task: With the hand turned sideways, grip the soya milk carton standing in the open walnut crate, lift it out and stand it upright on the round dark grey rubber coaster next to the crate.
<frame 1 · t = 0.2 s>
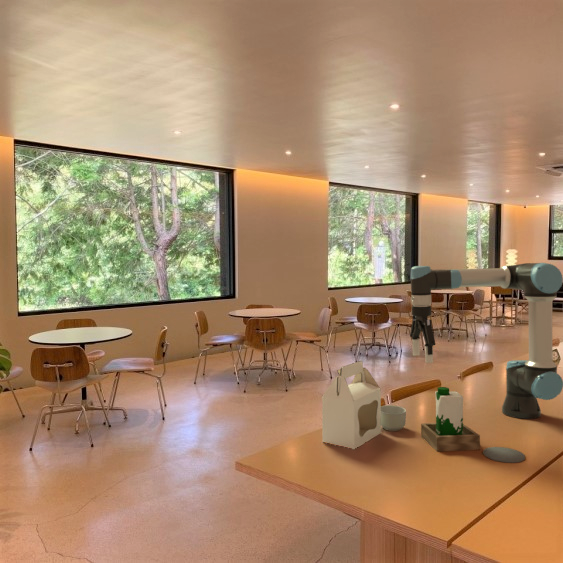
hand: (422, 358, 204), 27 cm above the table, tool pointing down, fingers open, 13 cm apart
teacup: (388, 428, 205), on the table
grey coaster: (503, 455, 175), on the table
walnut crate: (449, 442, 188), on the table
gable box: (352, 438, 195), on the table
soya milk: (449, 443, 188), resting in walnut crate
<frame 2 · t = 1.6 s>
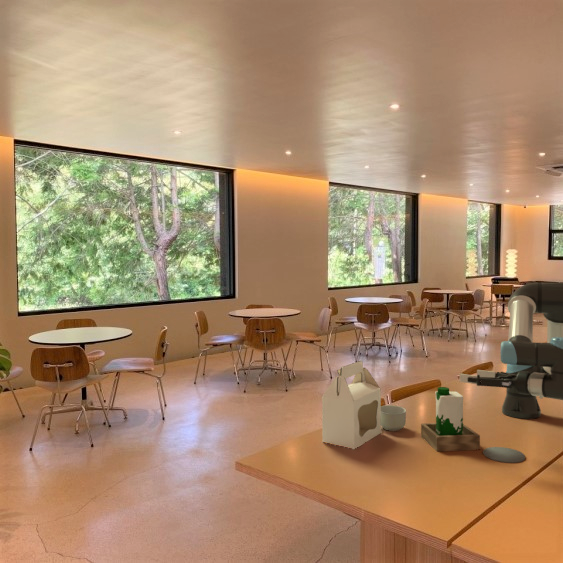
hand: (468, 375, 184), 25 cm above the table, tool horizontal, fingers open, 13 cm apart
nothing on the table moved.
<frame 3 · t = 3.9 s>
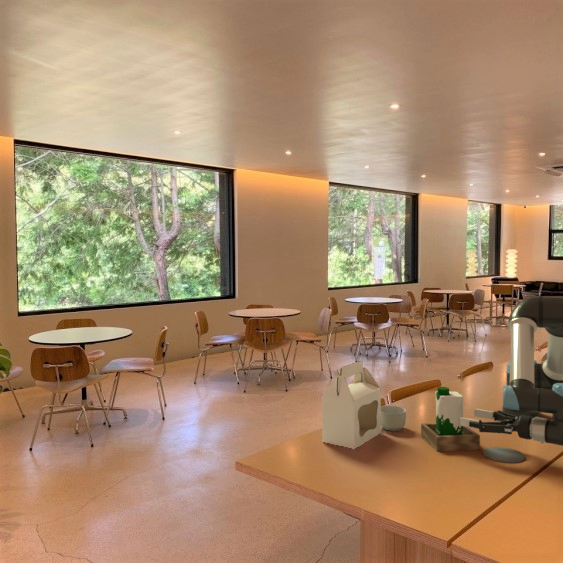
hand: (467, 416, 183), 11 cm above the table, tool horizontal, fingers open, 13 cm apart
nothing on the table moved.
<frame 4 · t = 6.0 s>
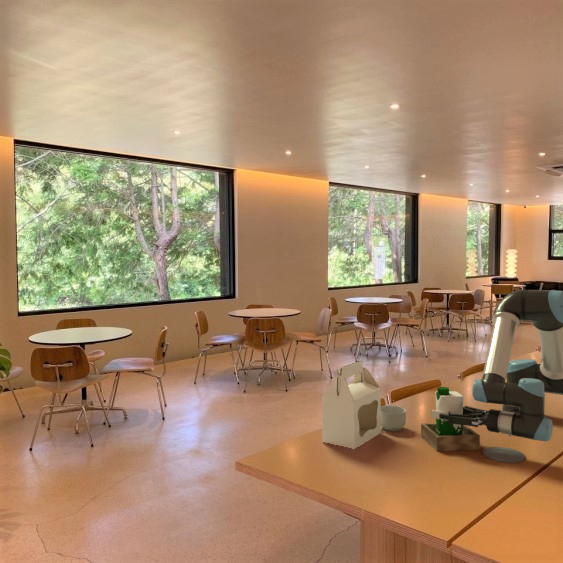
hand: (437, 410, 190), 11 cm above the table, tool horizontal, fingers closed on soya milk, 9 cm apart
soya milk: (449, 443, 188), resting in walnut crate, touching gripper
everything else where it was.
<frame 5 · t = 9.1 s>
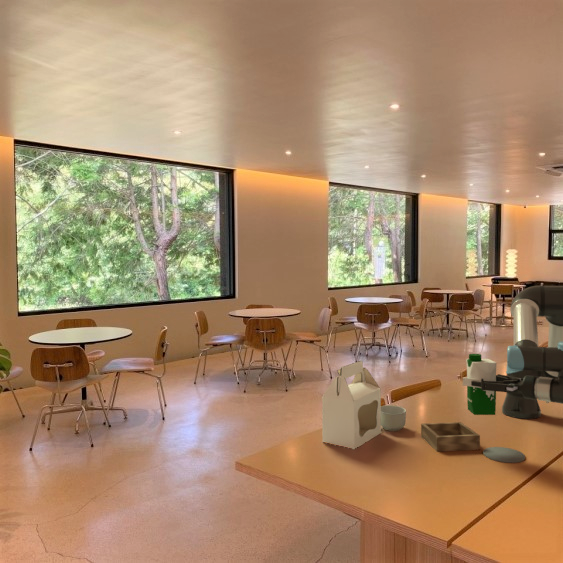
hand: (468, 378, 181), 25 cm above the table, tool horizontal, fingers closed on soya milk, 9 cm apart
soya milk: (481, 412, 179), point 13 cm above the table, touching gripper
everything else where it was.
when the fingers open (13 cm above the table, at t = 12.1 s): soya milk drops 1 cm, resting on grey coaster.
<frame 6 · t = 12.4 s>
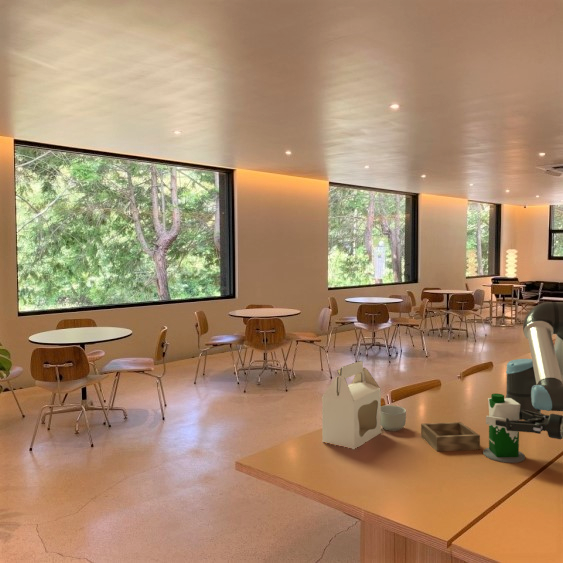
hand: (492, 415, 177), 13 cm above the table, tool horizontal, fingers open, 12 cm apart
soya milk: (503, 453, 175), point 1 cm above the table, touching grey coaster
everything else where it was.
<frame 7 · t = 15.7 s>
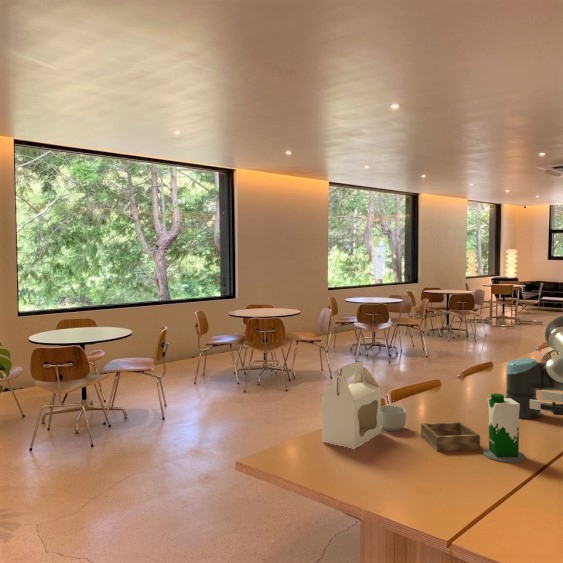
hand: (535, 398, 167), 21 cm above the table, tool horizontal, fingers open, 13 cm apart
nothing on the table moved.
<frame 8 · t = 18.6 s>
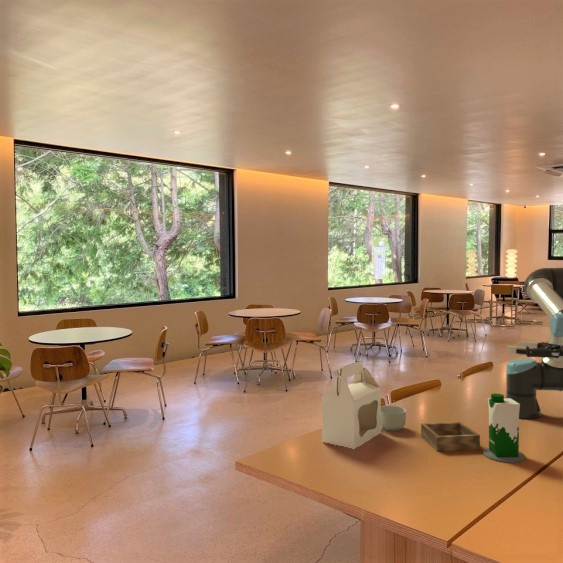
hand: (512, 347, 190), 34 cm above the table, tool horizontal, fingers open, 13 cm apart
nothing on the table moved.
at the end: soya milk 0.1 cm from the grey coaster (horizontally); soya milk tilted 0°; the gripper is holding nothing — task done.
